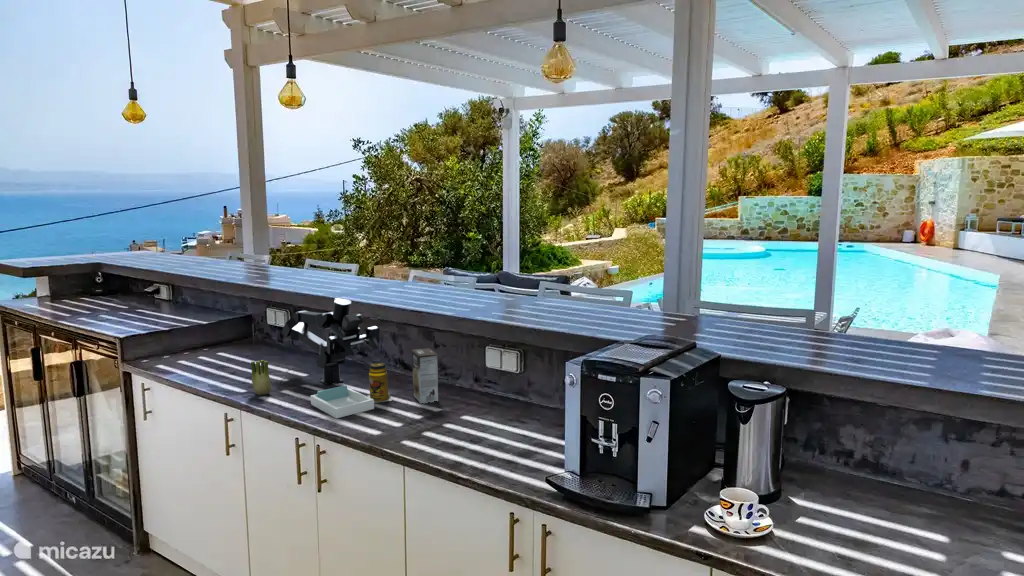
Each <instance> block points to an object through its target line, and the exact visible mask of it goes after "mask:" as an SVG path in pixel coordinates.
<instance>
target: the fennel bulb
mask: <svg viewBox="0 0 1024 576" xmlns="http://www.w3.org/2000/svg"><path fill="white" fill-rule="evenodd" d="M250 366H251V367H250V368H251V384H252V387H253V391H254V393H255V394H256V395H257V396H265V395H268V394H270V393H271V391H272V381H271V377H270V373H269V361H268V360H264V359H261V360H256V361H254V360H253V361H250Z"/></svg>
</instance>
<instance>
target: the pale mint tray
mask: <svg viewBox="0 0 1024 576" xmlns="http://www.w3.org/2000/svg"><path fill="white" fill-rule="evenodd" d="M347 393H348V397H343V398H339V399H335V400H331V401H324V400H322V399H320V398H318V395H317V393H316V394H311V395H310V404H311V406H313V407H315V408H317V409H318V410H320V411H322V412H324V413H326V415H329V416H331V417H333V418H335V419H339V418H343V417H346V416H347V417H348V416H350V415H355V414H359V413H363V412H367V411H371V410H374V409H375V403H374V399H372V398H369V397H368V396H367V395H365V394H363V393H360V392H358V391H357V390H354V389H352V388H351V387H348V386H347Z"/></svg>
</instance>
